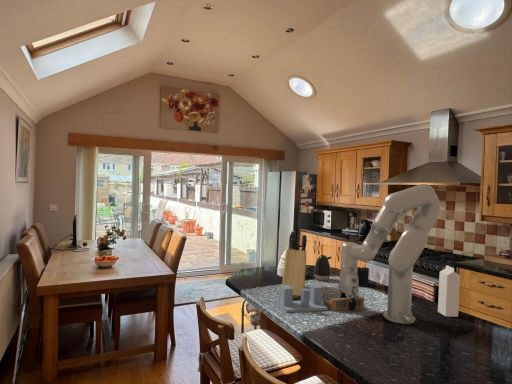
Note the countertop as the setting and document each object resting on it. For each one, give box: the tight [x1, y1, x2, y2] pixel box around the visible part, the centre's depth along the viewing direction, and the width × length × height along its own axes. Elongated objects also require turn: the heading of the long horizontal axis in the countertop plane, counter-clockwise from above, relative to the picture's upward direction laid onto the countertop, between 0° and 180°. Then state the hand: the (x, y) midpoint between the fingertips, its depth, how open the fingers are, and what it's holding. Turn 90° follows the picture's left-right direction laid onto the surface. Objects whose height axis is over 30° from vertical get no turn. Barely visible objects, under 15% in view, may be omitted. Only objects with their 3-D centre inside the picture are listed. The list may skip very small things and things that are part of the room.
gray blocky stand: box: [278, 283, 329, 314], centre depth 156 cm, size 11×20×9 cm, turn 104°
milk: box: [437, 265, 461, 318], centre depth 154 cm, size 6×6×22 cm
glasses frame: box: [323, 296, 365, 312], centre depth 159 cm, size 9×16×5 cm, turn 104°
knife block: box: [281, 230, 308, 300], centre depth 181 cm, size 11×35×31 cm, turn 170°
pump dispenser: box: [313, 254, 332, 282], centre depth 205 cm, size 10×10×15 cm
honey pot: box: [276, 246, 289, 278], centre depth 213 cm, size 13×13×18 cm
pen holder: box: [357, 266, 370, 288], centre depth 197 cm, size 9×9×10 cm
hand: (347, 306), depth 156 cm, fingers open, 7 cm apart
